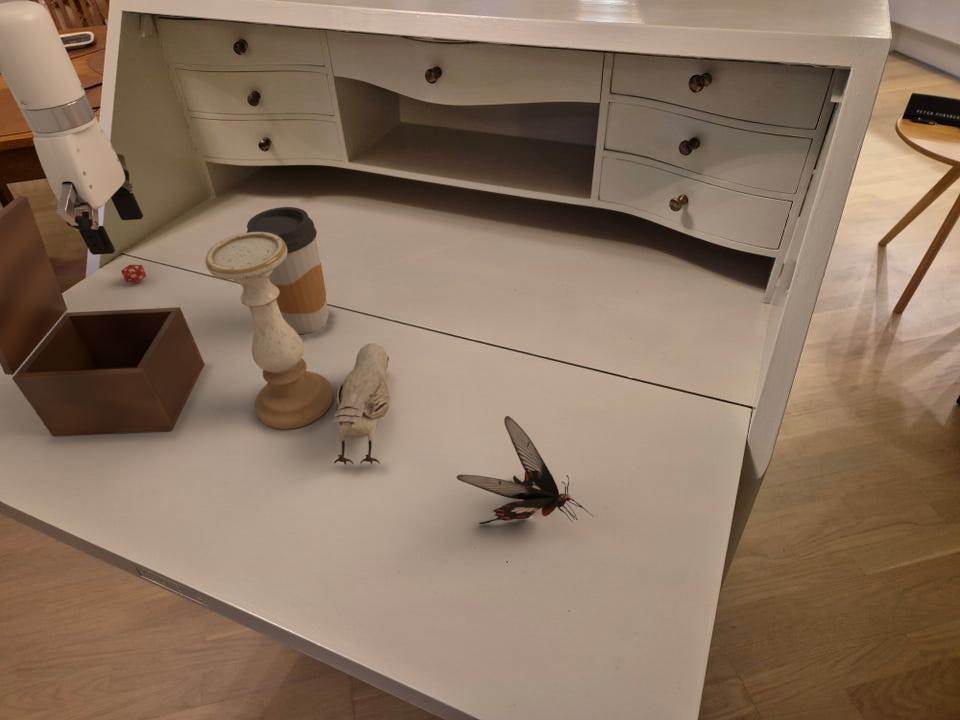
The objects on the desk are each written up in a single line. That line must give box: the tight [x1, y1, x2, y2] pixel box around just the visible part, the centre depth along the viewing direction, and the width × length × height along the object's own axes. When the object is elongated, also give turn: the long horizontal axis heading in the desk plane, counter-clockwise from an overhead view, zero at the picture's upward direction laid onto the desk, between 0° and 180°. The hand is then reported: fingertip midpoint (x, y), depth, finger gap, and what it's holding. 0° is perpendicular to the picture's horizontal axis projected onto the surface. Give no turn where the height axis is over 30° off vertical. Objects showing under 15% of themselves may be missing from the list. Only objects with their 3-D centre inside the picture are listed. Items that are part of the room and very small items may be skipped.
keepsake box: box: [11, 306, 205, 437], centre depth 73 cm, size 14×12×9 cm
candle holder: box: [204, 232, 334, 430], centre depth 67 cm, size 9×9×20 cm
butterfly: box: [456, 415, 595, 525], centre depth 58 cm, size 11×8×10 cm
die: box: [121, 264, 147, 283], centre depth 95 cm, size 3×3×3 cm
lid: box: [0, 195, 68, 376], centre depth 65 cm, size 14×12×1 cm
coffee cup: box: [246, 206, 330, 335], centre depth 81 cm, size 8×8×15 cm
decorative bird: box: [332, 342, 391, 466], centre depth 69 cm, size 5×16×8 cm, turn 178°
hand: (119, 235), depth 91 cm, fingers open, 9 cm apart
